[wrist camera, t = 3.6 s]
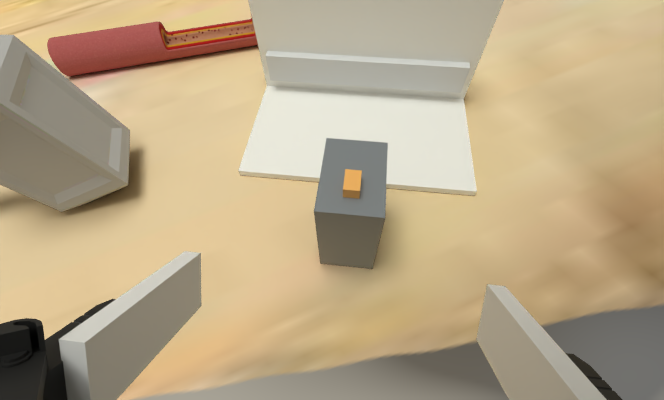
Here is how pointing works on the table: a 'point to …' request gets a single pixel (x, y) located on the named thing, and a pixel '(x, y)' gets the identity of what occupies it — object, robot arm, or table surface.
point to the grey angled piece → (55, 134)
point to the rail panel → (369, 86)
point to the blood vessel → (144, 45)
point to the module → (351, 202)
